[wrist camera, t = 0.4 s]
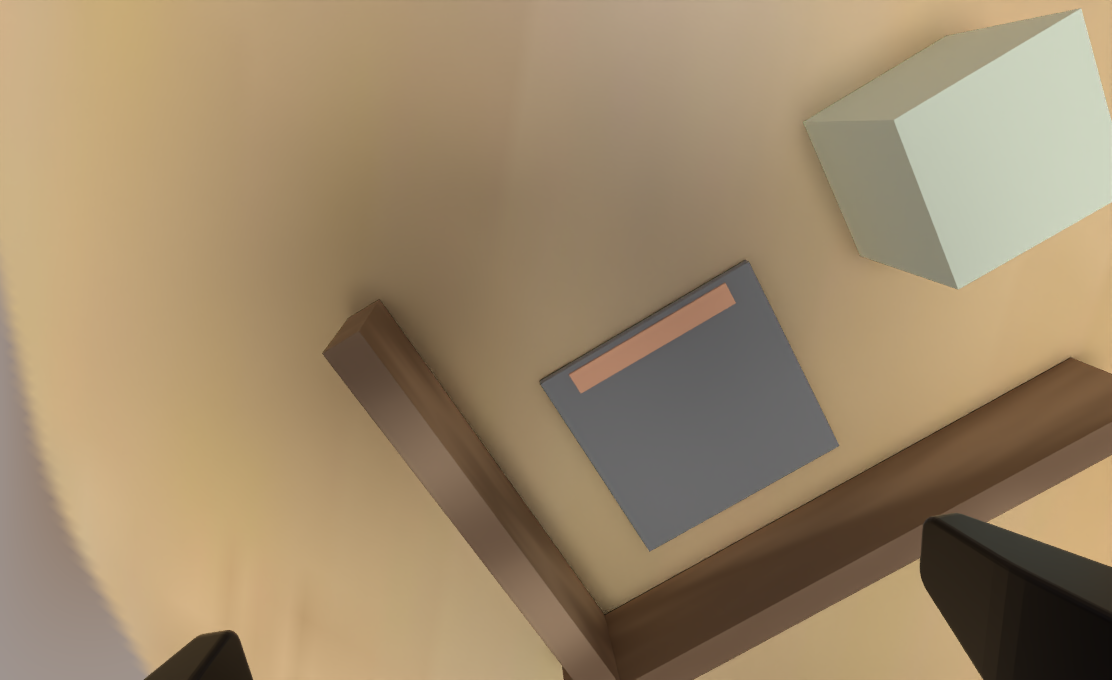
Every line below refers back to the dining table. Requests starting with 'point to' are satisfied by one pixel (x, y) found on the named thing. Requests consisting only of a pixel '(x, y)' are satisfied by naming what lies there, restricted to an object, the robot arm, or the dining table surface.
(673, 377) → the tile
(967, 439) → the block
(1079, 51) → the sage cube
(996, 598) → the robot arm
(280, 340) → the dining table surface
